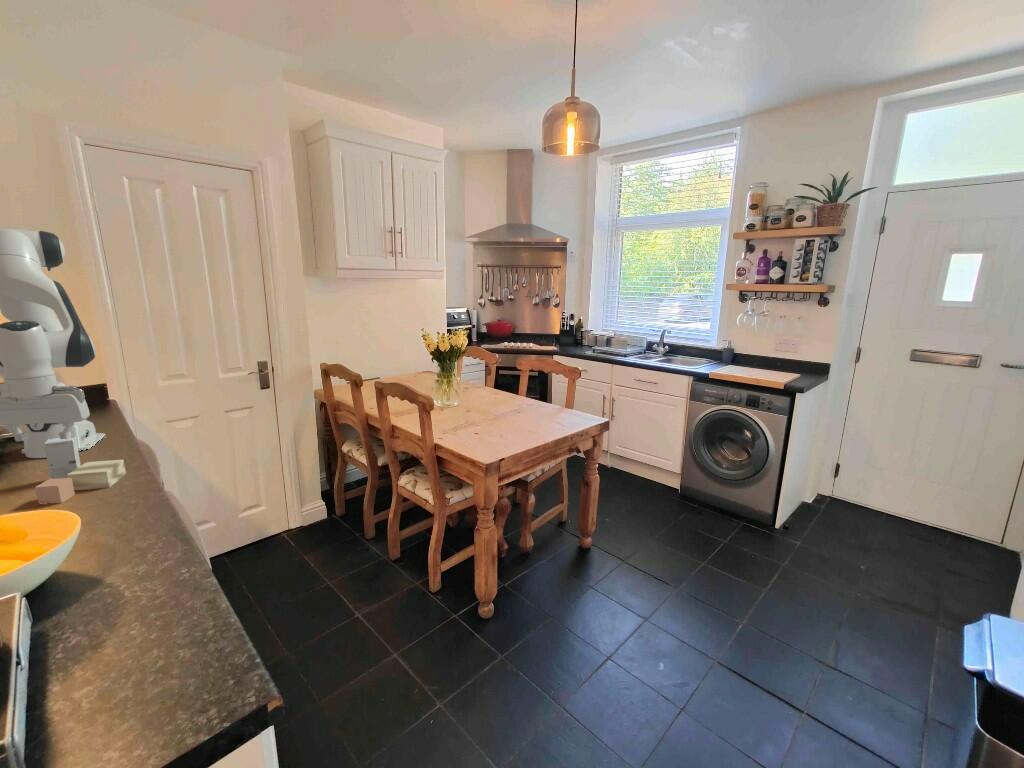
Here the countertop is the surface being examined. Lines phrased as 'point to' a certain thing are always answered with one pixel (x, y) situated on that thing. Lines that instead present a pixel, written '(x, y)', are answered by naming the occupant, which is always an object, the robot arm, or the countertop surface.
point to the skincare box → (62, 456)
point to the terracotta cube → (55, 490)
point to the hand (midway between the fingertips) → (44, 439)
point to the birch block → (97, 474)
